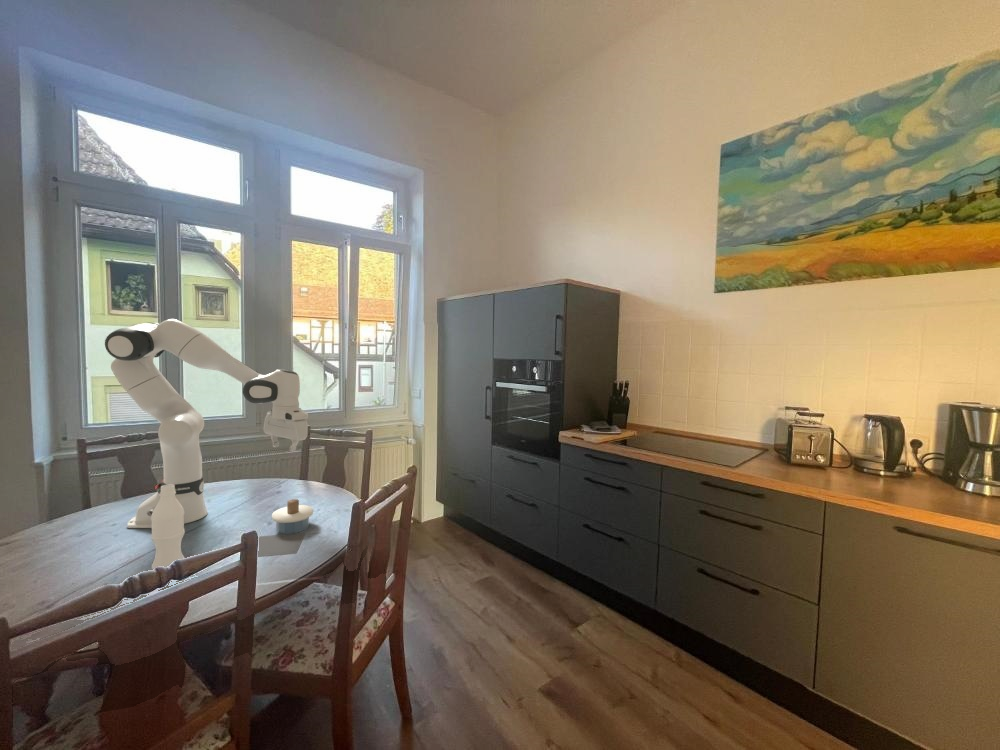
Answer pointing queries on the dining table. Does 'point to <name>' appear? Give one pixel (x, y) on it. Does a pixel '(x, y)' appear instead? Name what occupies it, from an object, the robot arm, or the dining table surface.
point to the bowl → (292, 526)
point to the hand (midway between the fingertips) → (284, 448)
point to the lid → (292, 512)
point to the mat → (279, 544)
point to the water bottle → (167, 527)
